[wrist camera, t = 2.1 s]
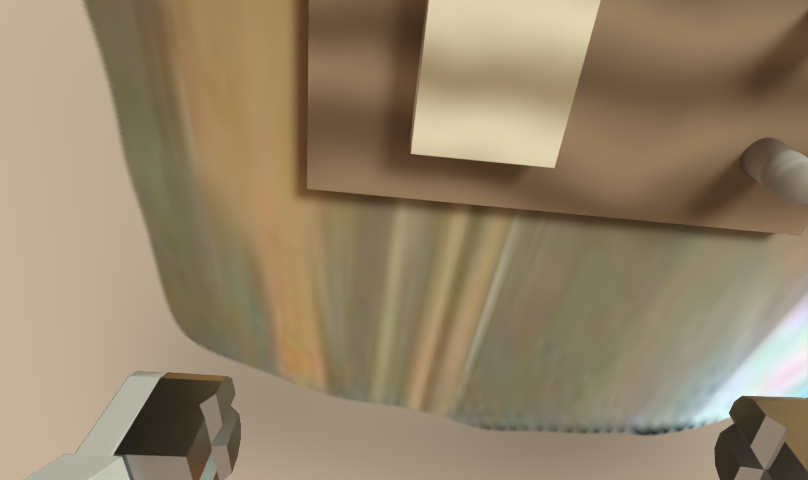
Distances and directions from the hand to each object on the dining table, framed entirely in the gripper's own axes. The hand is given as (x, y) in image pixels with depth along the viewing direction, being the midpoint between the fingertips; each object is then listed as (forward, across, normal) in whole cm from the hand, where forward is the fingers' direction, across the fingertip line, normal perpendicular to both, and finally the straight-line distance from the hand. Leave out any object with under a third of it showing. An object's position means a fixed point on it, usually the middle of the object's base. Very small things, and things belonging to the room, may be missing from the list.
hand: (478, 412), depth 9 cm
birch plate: (+24, -3, -2) cm, 24 cm away
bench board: (+25, -9, -1) cm, 27 cm away
